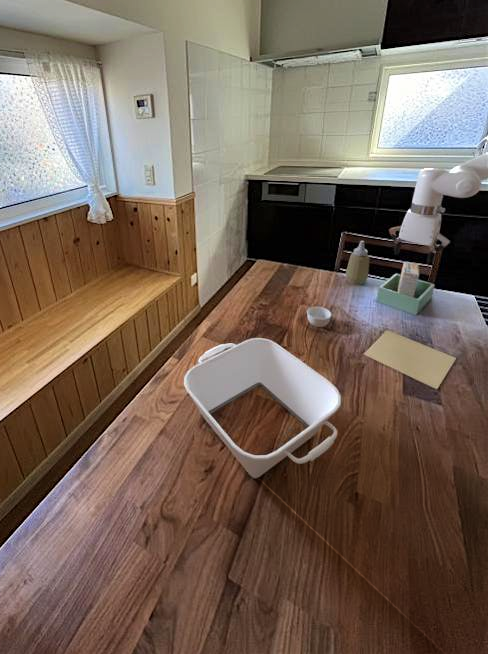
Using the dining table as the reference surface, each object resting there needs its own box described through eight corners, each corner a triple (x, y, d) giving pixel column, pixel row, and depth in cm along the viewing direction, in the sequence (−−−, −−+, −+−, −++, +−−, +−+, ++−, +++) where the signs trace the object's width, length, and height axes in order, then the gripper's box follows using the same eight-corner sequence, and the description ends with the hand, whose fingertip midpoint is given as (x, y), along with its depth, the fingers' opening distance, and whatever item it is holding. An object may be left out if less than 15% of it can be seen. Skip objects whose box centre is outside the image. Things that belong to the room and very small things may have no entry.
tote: (430, 300, 120) (434, 284, 117) (415, 317, 112) (419, 300, 109) (392, 288, 129) (395, 273, 126) (375, 302, 121) (378, 287, 118)
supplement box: (395, 293, 124) (403, 261, 119) (411, 296, 122) (419, 264, 117) (395, 304, 118) (402, 271, 113) (411, 307, 116) (419, 274, 110)
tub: (360, 453, 71) (370, 409, 65) (266, 536, 58) (269, 490, 53) (251, 361, 97) (252, 325, 92) (171, 405, 85) (167, 366, 80)
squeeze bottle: (350, 276, 139) (356, 235, 132) (370, 282, 134) (378, 240, 126) (340, 283, 135) (346, 241, 127) (360, 290, 129) (368, 247, 122)
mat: (455, 360, 93) (456, 358, 92) (436, 392, 84) (437, 389, 83) (386, 332, 106) (386, 329, 105) (362, 356, 96) (363, 354, 96)
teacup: (337, 334, 106) (339, 322, 104) (304, 333, 108) (305, 320, 106) (330, 316, 115) (331, 304, 113) (299, 315, 117) (300, 303, 115)
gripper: (461, 211, 102) (446, 261, 109) (399, 201, 114) (389, 247, 122) (454, 217, 98) (438, 269, 105) (390, 206, 110) (380, 253, 117)
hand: (412, 257), depth 113 cm, fingers open, 9 cm apart
